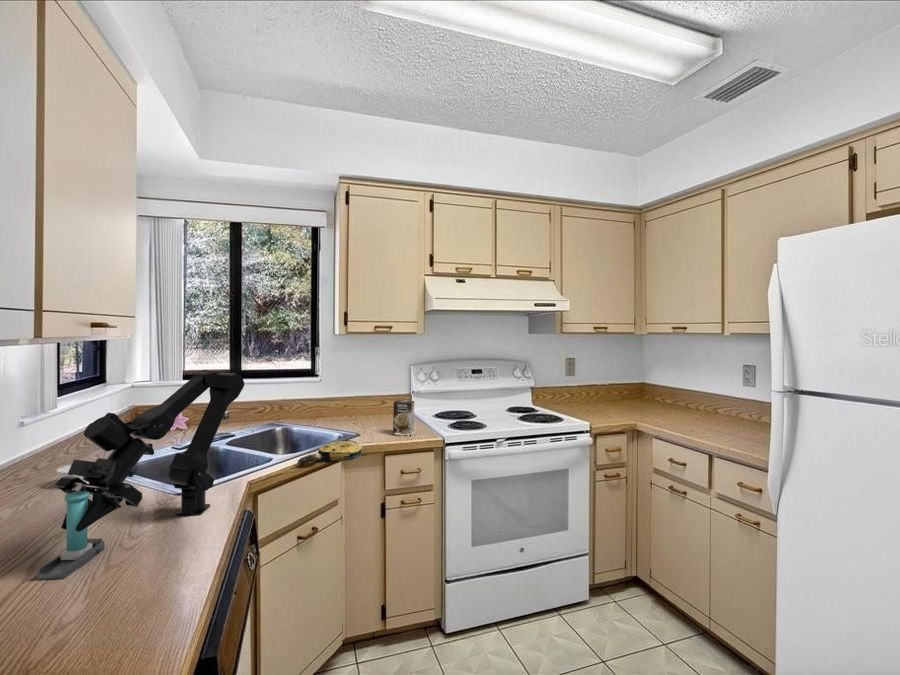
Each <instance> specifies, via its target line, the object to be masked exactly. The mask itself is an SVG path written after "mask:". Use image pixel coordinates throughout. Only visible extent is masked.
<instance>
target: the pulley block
mask: <svg viewBox="0 0 900 675" xmlns="http://www.w3.org/2000/svg"><path fill="white" fill-rule="evenodd" d="M362 449H363V445H361V444H359V443H358V442H356V441H354V440H350V439H345V440H342V441H341V440H340V441H339V440H338V441H334V442H329V443H328V444H325V445H324V446H321V447H319V448H318V449H317V450H318V451H317V452H318V453H312V454H311V453H310V454H307V455H305V456H302V457H300V459H298V460H297V463H296V464H297V465H304V464H307V463H311V462H315V461H318V462H320V463H329V462H344V461H352V460H356V459H358V458H360V457H361V456H362V454H364V453H368V452H370V450H367V451H362Z"/></svg>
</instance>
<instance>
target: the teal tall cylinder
mask: <svg viewBox="0 0 900 675" xmlns="http://www.w3.org/2000/svg"><path fill="white" fill-rule="evenodd" d="M88 497H89V492H88V491H79V492H73V493H70V494H65V496H64V501H65V502H66V513H67V529H66V533H65V534H66V535H65V536H66V540H65V541H66V542H65V544H66V548H65V549H63V550H62V551H60V554H61V560H76V559H77V558H78V557H80V556H81V555H83V554H84V553H86V552H87V551H88V550H90V549H91V548H92V544H93V543H87V539H88V527H86V528H85V529H83V530H82V531H80V532H78V531H76V530H75V529H76V527H77V525H78V523H79V522H80V520H81V519H82V517H83V516H84V514H85V513H86V511H87V510H88Z"/></svg>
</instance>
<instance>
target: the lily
mask: <svg viewBox="0 0 900 675" xmlns="http://www.w3.org/2000/svg"><path fill="white" fill-rule="evenodd" d="M187 421H189V417H186V416H183V411H182V412H181V413H180V414H179V415H178V416H177V417H176V418H175V421H174V425H173V426H172V428H171V429H170V430H169V431H171V430H174V431H175V430H176V428H180V429H182V430H184V429H187V430H188V427H187V424H186V423H185V422H187Z"/></svg>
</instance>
